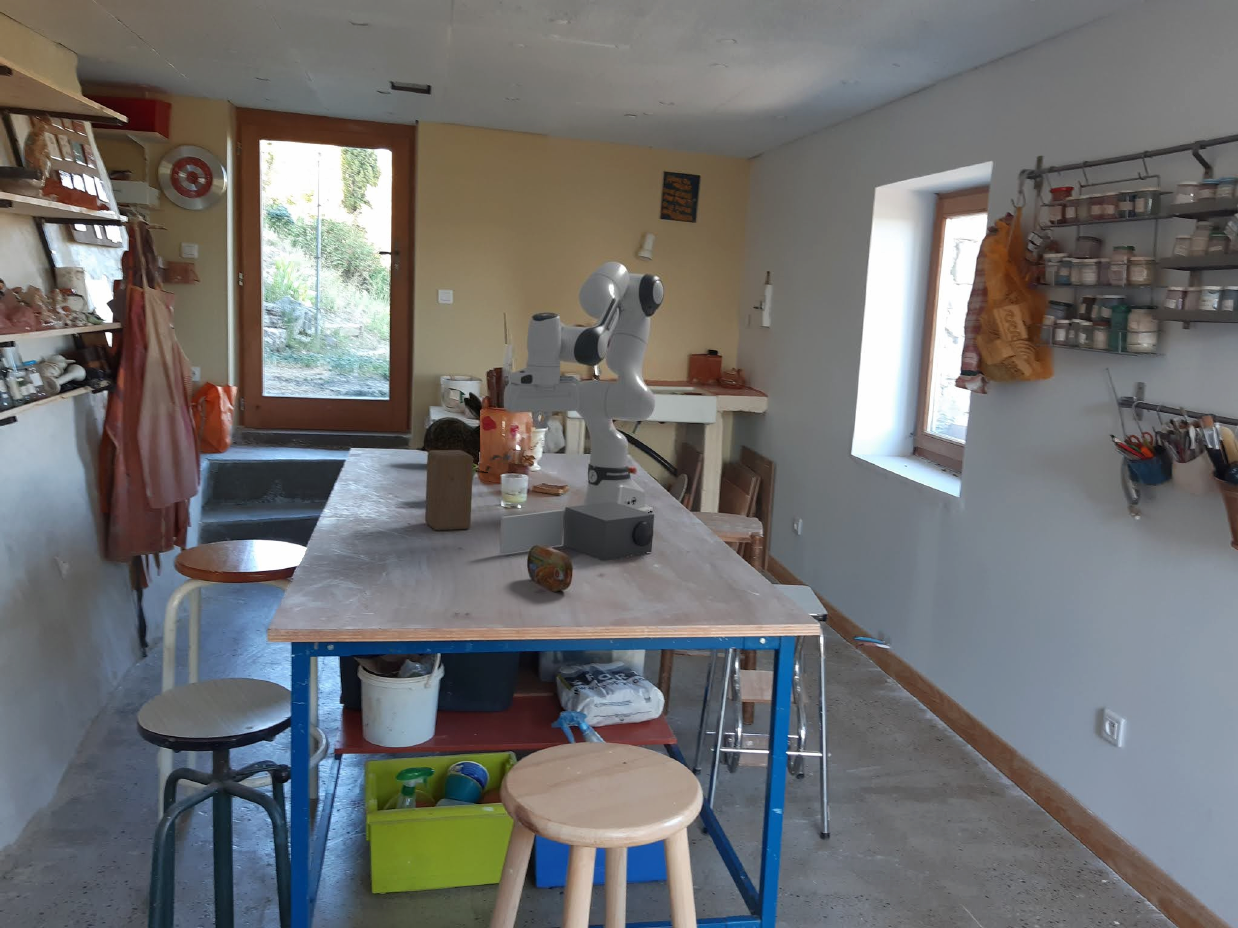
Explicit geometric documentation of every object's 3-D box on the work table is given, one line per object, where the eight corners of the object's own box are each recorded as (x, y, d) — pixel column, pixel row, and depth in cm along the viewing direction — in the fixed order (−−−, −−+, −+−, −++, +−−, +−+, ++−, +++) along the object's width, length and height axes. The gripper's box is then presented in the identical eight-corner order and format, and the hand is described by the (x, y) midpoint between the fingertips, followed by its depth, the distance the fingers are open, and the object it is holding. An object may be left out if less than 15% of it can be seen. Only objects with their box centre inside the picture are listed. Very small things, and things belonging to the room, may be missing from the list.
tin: (525, 577, 213) (527, 541, 211) (537, 576, 214) (539, 539, 213) (561, 596, 201) (563, 558, 199) (573, 594, 203) (576, 556, 201)
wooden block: (434, 531, 247) (437, 456, 244) (424, 522, 256) (426, 449, 253) (471, 529, 252) (474, 455, 249) (459, 521, 261) (462, 449, 257)
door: (561, 544, 241) (563, 510, 239) (502, 554, 228) (503, 517, 227) (557, 543, 242) (559, 509, 240) (498, 552, 229) (500, 516, 228)
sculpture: (473, 477, 323) (477, 397, 319) (412, 465, 339) (415, 388, 334) (509, 471, 339) (513, 395, 335) (450, 459, 355) (452, 386, 350)
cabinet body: (610, 538, 253) (613, 501, 251) (654, 553, 240) (657, 515, 239) (563, 545, 242) (565, 507, 241) (606, 561, 230) (609, 521, 228)
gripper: (574, 374, 254) (571, 425, 257) (502, 374, 245) (500, 427, 247) (584, 377, 249) (581, 429, 252) (511, 377, 239) (509, 431, 242)
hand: (541, 428), depth 249 cm, fingers closed
